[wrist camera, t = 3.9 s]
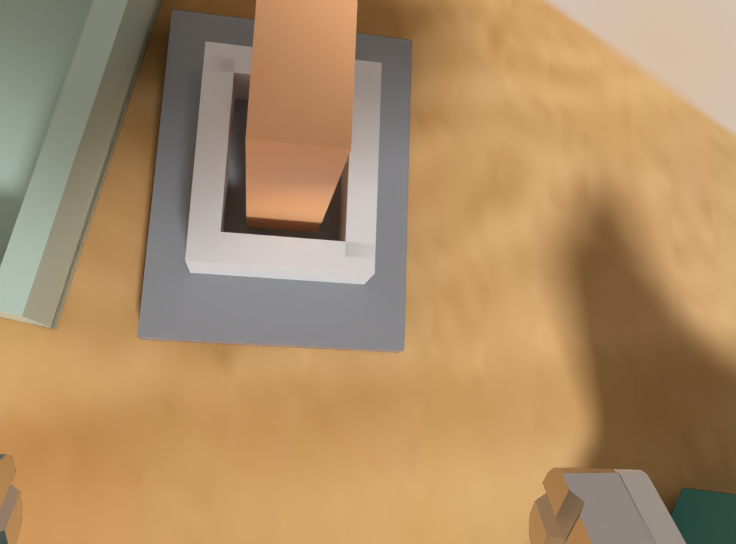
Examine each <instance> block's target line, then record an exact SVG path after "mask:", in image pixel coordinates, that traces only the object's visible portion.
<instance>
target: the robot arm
mask: <svg viewBox="0 0 736 544" xmlns="http://www.w3.org/2000/svg"><path fill="white" fill-rule="evenodd" d="M15 473H16V469H15V465H14V461H13V457H12V455H5V454H0V544H16V543H17V541H18V537H19V532H20V527H21V522H22V499H21V493H20V491H19V490H17V489H16V488H15V487H14V486H12V485H11V482H12V480H13V477H14V475H15ZM543 485H544V487H545V490H546V494H544V495H543V496H541V497H540V498H538V499H537V500H536V501H535V502H534V505H533V507H532V510H531V513H530V519H529V535H530V542H531V544H686V542H685V541H684V539H683V537H682V535H681V533H680V532H679V530H678V528H677V526H676V524H675V523H674V521H673V519H672V517H671V515H670V514H669V512H668V510H667V508H666V506H665V505H664V503H663V501H662V499H661V498H660V496H659V494H658V492H657V490H656V489H655V487H654V485H653V483H652V481H651V480H650V478H649V476H648V475H647V474H646V473H645V472H644V471H642V470H631V469H608V468H553V469H551V470H550V471H549V472H548V473H547V475H546V477H545V479H544V481H543Z"/></svg>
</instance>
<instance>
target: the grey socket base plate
mask: <svg viewBox="0 0 736 544" xmlns="http://www.w3.org/2000/svg"><path fill="white" fill-rule="evenodd" d="M254 23H255V20H253V19H245V18H238V17H230V16H222V15H214V14H207V13H199V12H191V11H183V10H176V9H172V14H171V24H170V33H169V43H168V52H167V62H166V71H165V81H164V90H163V100H162V109H161V118H160V128H159V137H158V147H157V156H156V166H155V175H154V185H153V194H152V204H151V213H150V223H149V232H148V241H147V251H146V260H145V270H144V279H143V289H142V298H141V308H140V317H139V327H138V336H137V337H139V338H141V339H143V340H163V341H182V342H202V343H221V344H241V345H260V346H280V347H299V348H319V349H339V350H358V351H378V352H397V353H398V352H401V351H404V331H405V291H406V250H407V209H408V169H409V128H410V87H411V47H412V40H408V39H400V38H392V37H385V36H377V35H369V34H361V33H356V48H355V71H354V94H353V117H352V140H351V151H350V153H349V156H348V158H347V161H346V163H345V166H344V168H343V171H342V173H341V176H340V178H339V181H338V183H337V186H336V188H335V191H334V193H333V196H332V198H331V201H330V203H329V206H328V208H327V211H326V213H325V216H324V218H323V221H322V223H321V226H320V228H319V231H318V233H313V232H300V231H287V230H275V229H262V228H250V227H246V126H247V113H248V101H249V88H250V75H251V62H252V49H253V36H254Z"/></svg>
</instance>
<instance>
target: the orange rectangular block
mask: <svg viewBox="0 0 736 544" xmlns="http://www.w3.org/2000/svg"><path fill="white" fill-rule="evenodd" d="M357 2H358V0H256V10H255V23H254V36H253V49H252V62H251V75H250V88H249V101H248V113H247V126H246V227H250V228H262V229H275V230H287V231H300V232H313V233H318V231H319V228H320V226H321V223H322V221H323V218H324V216H325V213H326V211H327V208H328V206H329V203H330V201H331V198H332V196H333V193H334V191H335V188H336V186H337V183H338V181H339V178H340V176H341V173H342V171H343V168H344V166H345V163H346V161H347V158H348V156H349V153H350V151H351V140H352V117H353V94H354V71H355V48H356V25H357Z"/></svg>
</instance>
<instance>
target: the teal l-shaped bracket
mask: <svg viewBox="0 0 736 544" xmlns="http://www.w3.org/2000/svg"><path fill="white" fill-rule="evenodd" d="M671 517H672V519H673V521H674V523H675V524H676V526H677V528H678V530H679V532H680V533H681V535H682V537H683V539H684V541H685V542H686V544H736V495H735V494H727V493H719V492H711V491H704V490H696V489H688V488H683V489H682V491H681V493H680V496H679V498H678V500H677V502H676V505H675V507H674V509H673V512H672V514H671Z"/></svg>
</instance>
